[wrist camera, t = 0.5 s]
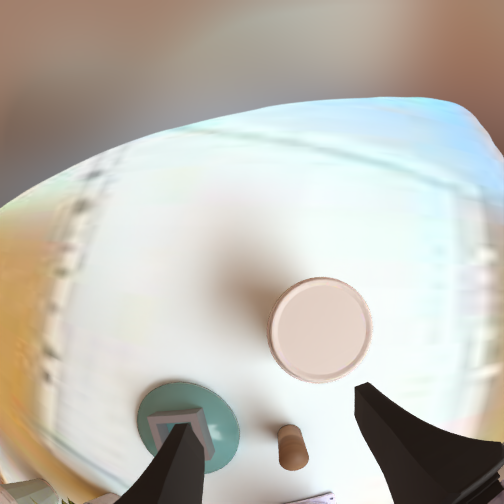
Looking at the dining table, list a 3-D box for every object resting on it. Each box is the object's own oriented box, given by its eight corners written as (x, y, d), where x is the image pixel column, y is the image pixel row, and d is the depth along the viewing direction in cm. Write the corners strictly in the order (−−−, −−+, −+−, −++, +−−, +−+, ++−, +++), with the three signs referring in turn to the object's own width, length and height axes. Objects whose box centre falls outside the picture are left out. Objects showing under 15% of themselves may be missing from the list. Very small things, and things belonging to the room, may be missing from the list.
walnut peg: (303, 441, 28) (311, 466, 20) (280, 446, 28) (282, 473, 20) (298, 422, 29) (305, 444, 21) (275, 427, 29) (276, 451, 21)
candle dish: (250, 466, 27) (248, 480, 23) (156, 471, 27) (145, 482, 23) (225, 374, 32) (219, 379, 28) (130, 386, 32) (115, 390, 28)
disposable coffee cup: (28, 462, 26) (-19, 475, 11) (63, 486, 25) (15, 508, 10) (37, 495, 23) (-4, 511, 8) (72, 519, 22) (32, 543, 7)
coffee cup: (322, 379, 31) (347, 399, 19) (255, 350, 32) (247, 357, 21) (352, 313, 33) (390, 300, 21) (288, 284, 35) (296, 257, 23)
